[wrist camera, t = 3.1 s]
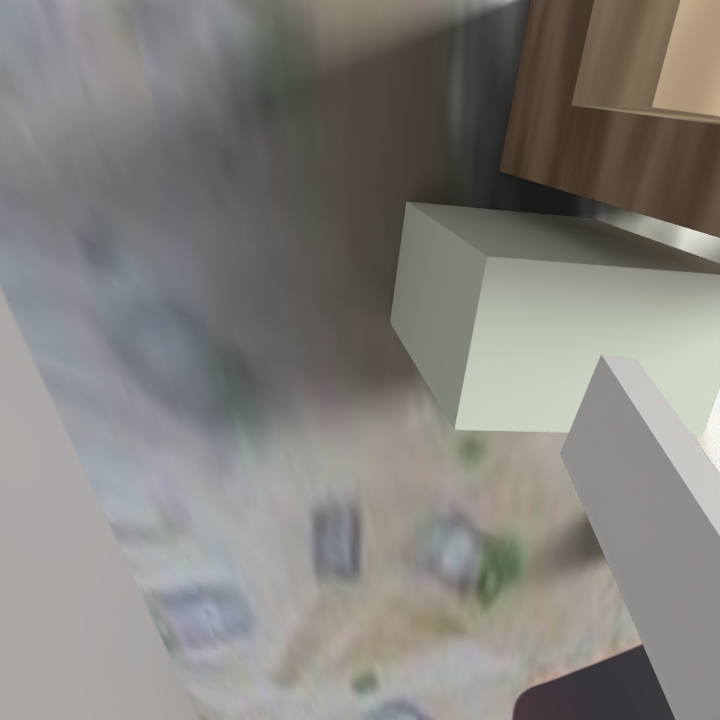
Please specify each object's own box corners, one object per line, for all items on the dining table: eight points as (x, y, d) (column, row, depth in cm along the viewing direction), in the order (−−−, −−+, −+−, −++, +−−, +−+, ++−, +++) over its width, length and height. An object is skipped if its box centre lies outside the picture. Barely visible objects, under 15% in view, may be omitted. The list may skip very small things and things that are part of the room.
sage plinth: (389, 322, 52) (454, 429, 35) (406, 201, 48) (487, 256, 32) (565, 332, 55) (702, 435, 38) (593, 218, 51) (759, 277, 34)
